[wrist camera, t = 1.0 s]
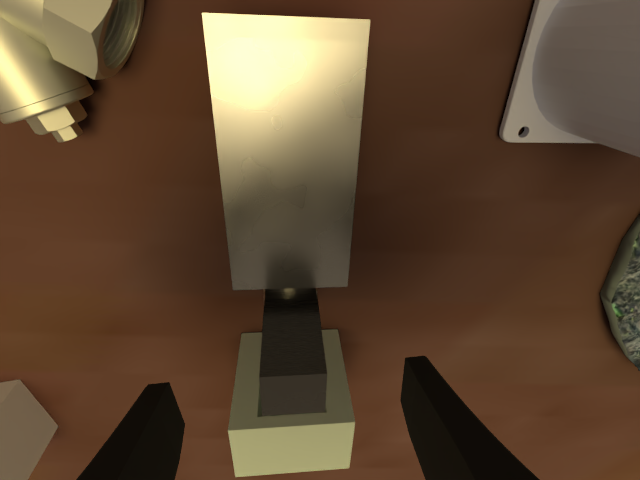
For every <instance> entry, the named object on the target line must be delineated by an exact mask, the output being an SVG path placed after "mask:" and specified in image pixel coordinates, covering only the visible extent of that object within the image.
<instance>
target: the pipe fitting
mask: <svg viewBox="0 0 640 480" xmlns="http://www.w3.org/2000/svg"><path fill="white" fill-rule="evenodd" d="M143 12H144V0H0V120H1V122H2V123H4V124H10V123H14V122H17V121H21V120H24V119H25V120H26V121H27V122H28V124H29V125H30V127H31V128H32V129H33V131H34V132H35V133H36V134H40V135H43V134H47V133H51V132H52V134H53V135H54V137H55V138H56V140H57V141H58V142H65V141H68V140H71V139H74V138H76V137H78V136H80V135H82V133H83V131H82V130H81V128H80V127H79V125H78V123H77V122H80V121H82V120H83V119H85V118H86V116H87V113H86V112H85V110H84V109H83V107H82V105H81V104H80V102H79V100H81V99H83V98H86V97H88V96H90V95H92V94H93V93H94V91H93V89H92V87H91V86H90V84H89V82H88V81H87V79H86V77H85V75H86V76H88V77H90V78H92V79H94V80H99V79H106V78H110V77H113V76H114V75H116V74H117V73H118V72H119V71H120V70H121V68H122V67H123V66H124V64H125V63H126V61H127V60H128V58H129V56H130V54H131V52H132V50H133V48H134V45H135V43H136V40H137V37H138V34H139V31H140V27H141V23H142V18H143Z"/></svg>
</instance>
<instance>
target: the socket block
mask: <svg viewBox="0 0 640 480" xmlns="http://www.w3.org/2000/svg"><path fill="white" fill-rule="evenodd" d="M322 337H323V345H324V352H325V360H326V368H327V387H326V404H325V412H317V413H301V414H285V415H269V416H262V407H261V395H260V382H259V372H260V358H261V343H262V332H259V333H242V334H241V341H240V348H239V355H238V363H237V370H236V377H235V384H234V392H233V399H232V406H231V413H230V421H229V428H228V433H229V439H230V446H231V452H232V458H233V465H234V471H235V477H242V476H255V475H268V474H281V473H293V472H306V471H319V470H332V469H344V468H349V466H350V458H351V450H352V442H353V435H354V427H355V419H354V414H353V408H352V403H351V398H350V392H349V387H348V382H347V376H346V371H345V365H344V360H343V355H342V349H341V344H340V339H339V333H338V329H331V330H322Z"/></svg>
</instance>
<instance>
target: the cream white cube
mask: <svg viewBox="0 0 640 480" xmlns="http://www.w3.org/2000/svg"><path fill="white" fill-rule="evenodd" d="M57 428H58V425H57V424H56V423H55V422H54V420H53V419H52V418H51V417H50V416H49V414H48V413H47V412H46V411H45V409H44V408H43V407H42V406H41V405H40V403H39V402H38V401H37V400H36V399H35V397H34V396H33V395H32V394H31V393H30V391H29V390H28V389H27V388H26V387H25V385H24V384H23V383H22V382H21V380H14V381H7V382H1V383H0V480H28V478H29V477H30V475H31V473H32V471H33V470H34V468H35V466H36V465H37V463H38V461H39V459H40V458H41V456H42V454H43V452H44V451H45V449H46V447H47V445H48V444H49V442H50V440H51V438H52V437H53V435H54V433H55V431H56V430H57Z"/></svg>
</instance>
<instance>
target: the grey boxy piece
mask: <svg viewBox="0 0 640 480" xmlns="http://www.w3.org/2000/svg"><path fill="white" fill-rule="evenodd" d="M202 18H203V27H204V36H205V45H206V54H207V63H208V72H209V81H210V90H211V99H212V108H213V117H214V126H215V135H216V143H217V152H218V161H219V170H220V179H221V188H222V197H223V206H224V215H225V224H226V233H227V242H228V251H229V260H230V268H231V277H232V286H233V290H255V289H288V288H321V287H347V286H348V274H349V263H350V251H351V239H352V228H353V216H354V204H355V193H356V181H357V169H358V158H359V146H360V134H361V123H362V111H363V99H364V88H365V76H366V64H367V53H368V41H369V29H370V20H368V19H343V18H318V17H294V16H269V15H244V14H220V13H202Z"/></svg>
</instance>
